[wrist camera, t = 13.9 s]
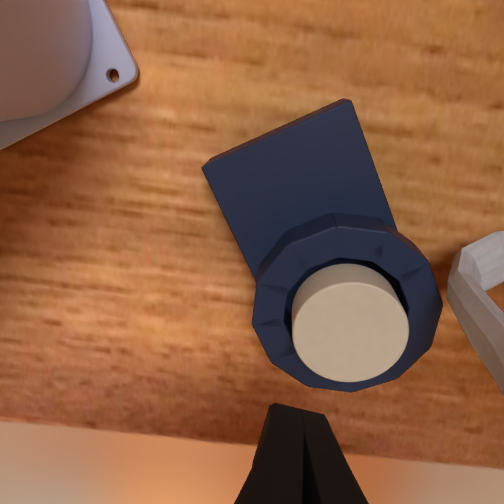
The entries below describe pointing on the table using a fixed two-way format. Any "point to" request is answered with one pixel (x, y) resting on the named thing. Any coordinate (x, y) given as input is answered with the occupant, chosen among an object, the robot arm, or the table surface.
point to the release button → (348, 323)
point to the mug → (480, 299)
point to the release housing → (318, 230)
